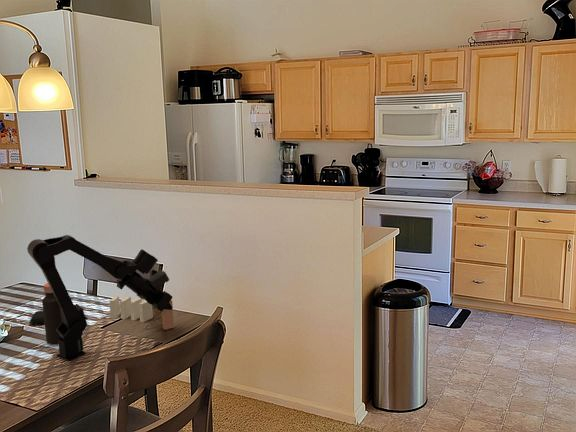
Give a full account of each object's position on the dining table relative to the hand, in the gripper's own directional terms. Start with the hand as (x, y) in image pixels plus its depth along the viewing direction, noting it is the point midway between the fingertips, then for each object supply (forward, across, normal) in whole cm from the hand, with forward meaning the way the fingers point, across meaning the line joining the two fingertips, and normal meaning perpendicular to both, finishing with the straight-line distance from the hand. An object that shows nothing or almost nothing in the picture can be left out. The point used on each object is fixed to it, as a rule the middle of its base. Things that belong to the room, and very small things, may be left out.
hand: (170, 308), depth 200 cm
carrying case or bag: (-16, +36, +28) cm, 48 cm away
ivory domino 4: (+3, +14, +8) cm, 16 cm away
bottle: (-19, +15, +30) cm, 39 cm away
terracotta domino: (+4, 0, +6) cm, 7 cm away
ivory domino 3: (+1, +18, +10) cm, 20 cm away
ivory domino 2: (-1, +21, +11) cm, 24 cm away
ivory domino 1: (-3, +25, +13) cm, 28 cm away
